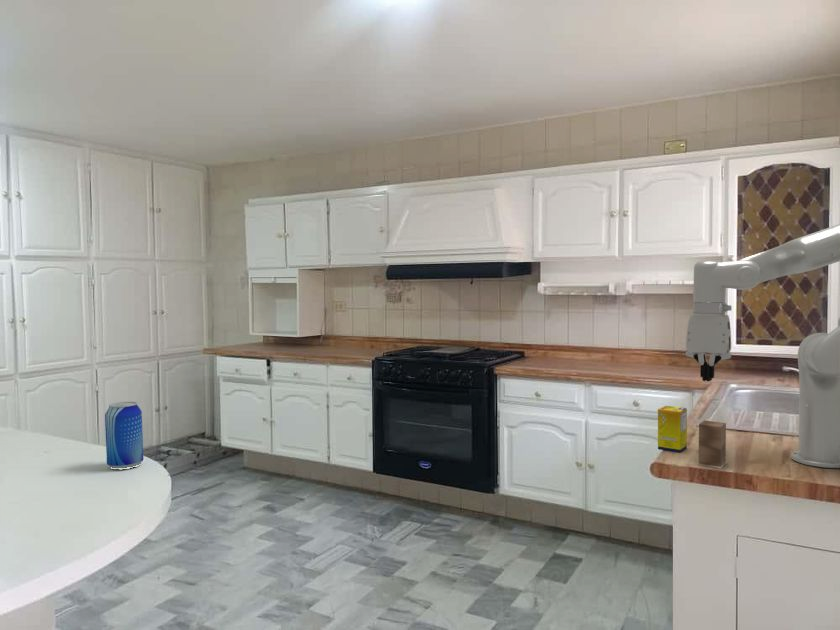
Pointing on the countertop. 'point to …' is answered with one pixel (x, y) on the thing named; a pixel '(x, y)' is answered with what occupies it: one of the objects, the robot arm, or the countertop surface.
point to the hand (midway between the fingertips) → (707, 380)
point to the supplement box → (672, 428)
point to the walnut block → (712, 444)
